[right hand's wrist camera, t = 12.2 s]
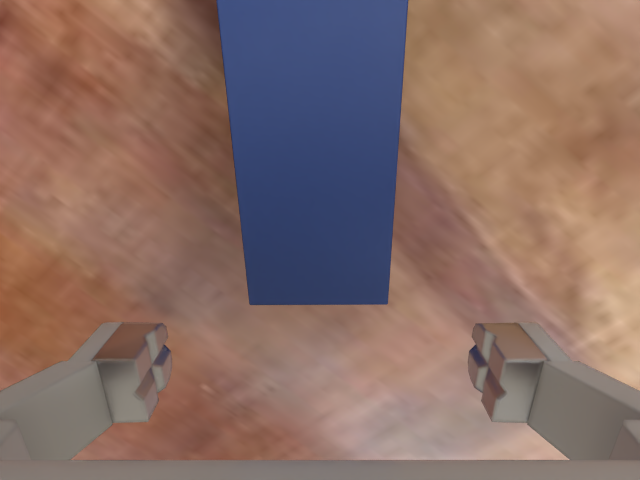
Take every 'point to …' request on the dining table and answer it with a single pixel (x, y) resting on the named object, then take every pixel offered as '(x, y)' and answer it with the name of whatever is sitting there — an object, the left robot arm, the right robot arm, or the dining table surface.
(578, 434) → the right robot arm
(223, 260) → the dining table surface
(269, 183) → the box
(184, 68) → the dining table surface
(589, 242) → the dining table surface
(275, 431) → the dining table surface
